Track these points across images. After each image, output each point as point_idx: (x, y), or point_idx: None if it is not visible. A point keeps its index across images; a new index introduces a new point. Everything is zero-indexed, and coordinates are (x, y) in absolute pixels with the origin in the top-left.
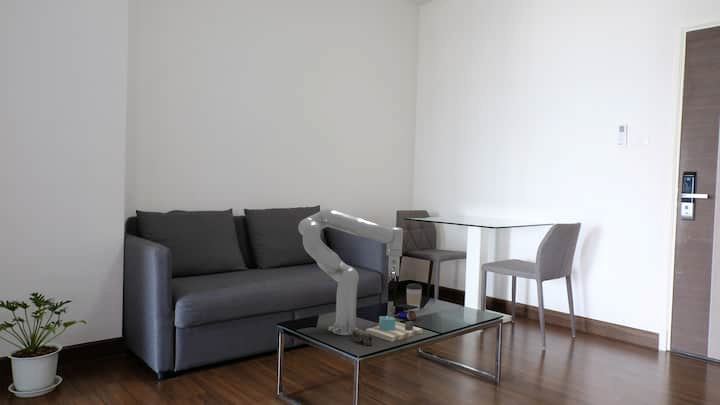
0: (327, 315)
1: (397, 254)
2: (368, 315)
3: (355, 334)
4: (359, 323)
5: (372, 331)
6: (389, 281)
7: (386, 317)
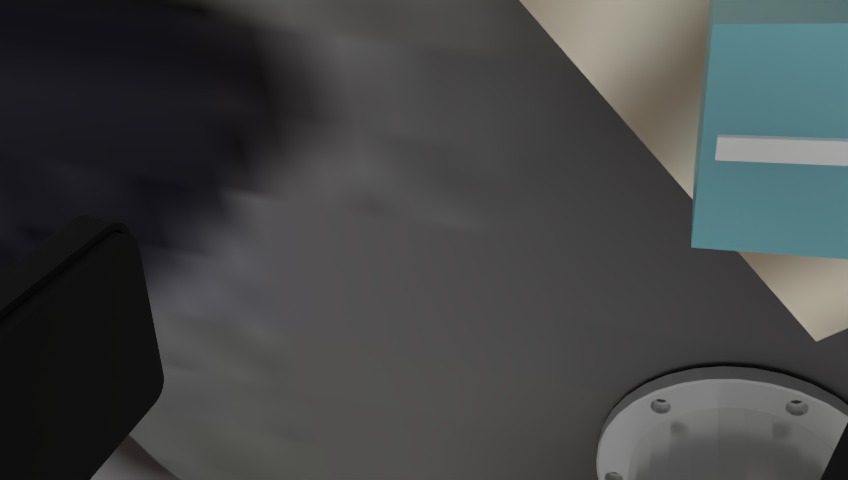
0: (199, 469)
1: None
2: (73, 161)
3: None
4: (398, 294)
5: None
6: (77, 476)
7: (821, 164)
